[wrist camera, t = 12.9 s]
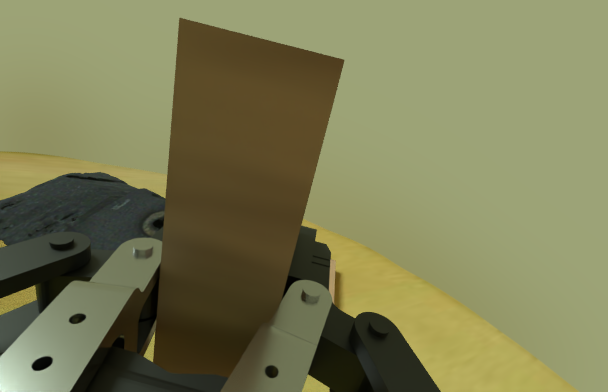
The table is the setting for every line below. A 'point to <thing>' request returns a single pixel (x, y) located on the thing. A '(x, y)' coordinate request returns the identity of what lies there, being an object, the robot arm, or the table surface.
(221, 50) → the brown post on base
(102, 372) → the robot arm
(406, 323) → the table surface
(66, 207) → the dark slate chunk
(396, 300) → the table surface
